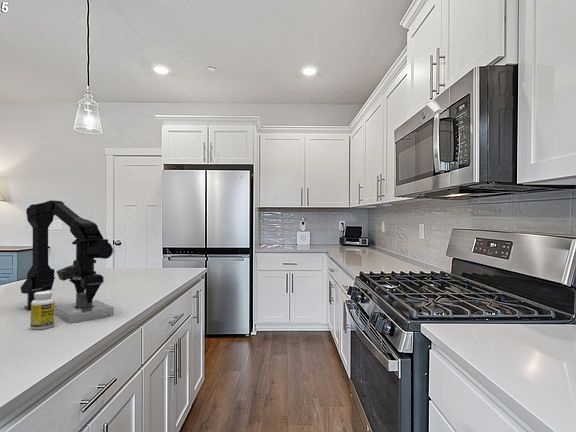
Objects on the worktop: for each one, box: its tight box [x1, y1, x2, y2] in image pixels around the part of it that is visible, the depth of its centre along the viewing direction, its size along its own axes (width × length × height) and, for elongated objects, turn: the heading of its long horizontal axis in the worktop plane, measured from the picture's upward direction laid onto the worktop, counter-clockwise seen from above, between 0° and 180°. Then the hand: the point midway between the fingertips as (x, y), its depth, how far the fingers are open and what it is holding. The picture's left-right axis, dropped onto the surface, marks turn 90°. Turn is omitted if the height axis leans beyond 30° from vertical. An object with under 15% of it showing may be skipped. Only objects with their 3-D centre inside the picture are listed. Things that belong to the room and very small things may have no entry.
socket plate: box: [54, 299, 114, 325], centre depth 127 cm, size 16×14×4 cm
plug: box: [75, 291, 92, 309], centre depth 127 cm, size 4×4×7 cm
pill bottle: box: [30, 290, 56, 331], centre depth 113 cm, size 6×6×11 cm
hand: (84, 300), depth 127 cm, fingers open, 9 cm apart
